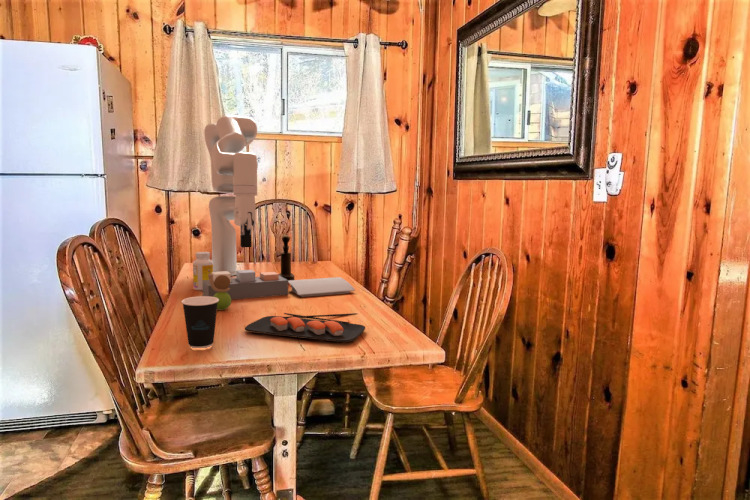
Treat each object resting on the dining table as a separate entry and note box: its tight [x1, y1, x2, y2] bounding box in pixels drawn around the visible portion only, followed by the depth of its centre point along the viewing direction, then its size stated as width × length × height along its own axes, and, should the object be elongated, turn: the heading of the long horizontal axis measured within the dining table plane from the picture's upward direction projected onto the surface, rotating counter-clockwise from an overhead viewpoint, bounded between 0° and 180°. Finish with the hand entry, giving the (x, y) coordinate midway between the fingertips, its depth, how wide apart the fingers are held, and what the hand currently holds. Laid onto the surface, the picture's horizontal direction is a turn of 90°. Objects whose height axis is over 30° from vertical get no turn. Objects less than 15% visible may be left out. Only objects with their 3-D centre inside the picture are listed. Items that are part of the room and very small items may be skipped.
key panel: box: [202, 276, 289, 301], centre depth 168 cm, size 10×26×5 cm, turn 119°
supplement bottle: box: [192, 251, 213, 291], centre depth 176 cm, size 7×7×13 cm
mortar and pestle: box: [278, 234, 295, 281], centre depth 193 cm, size 7×6×18 cm
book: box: [288, 276, 356, 298], centre depth 177 cm, size 15×23×4 cm, turn 117°
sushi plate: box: [244, 312, 366, 343], centre depth 135 cm, size 29×30×4 cm
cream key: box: [212, 271, 232, 283], centre depth 164 cm, size 5×5×4 cm
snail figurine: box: [208, 270, 232, 311], centre depth 147 cm, size 5×6×12 cm
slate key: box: [235, 269, 256, 282], centre depth 168 cm, size 5×5×4 cm
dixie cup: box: [181, 295, 219, 348], centre depth 114 cm, size 8×8×11 cm
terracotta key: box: [259, 271, 280, 281], centre depth 172 cm, size 5×5×4 cm
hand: (246, 246), depth 166 cm, fingers closed
